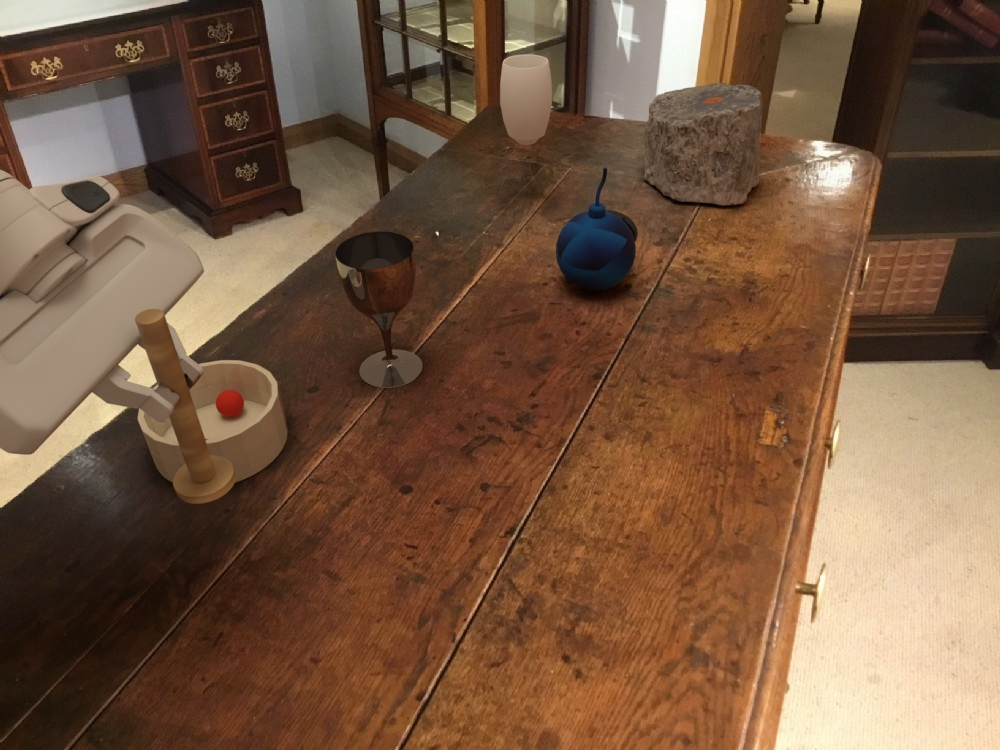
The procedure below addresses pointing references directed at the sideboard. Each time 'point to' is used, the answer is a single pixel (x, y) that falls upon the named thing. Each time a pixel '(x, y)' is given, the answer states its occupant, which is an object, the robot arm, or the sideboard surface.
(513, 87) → the cup
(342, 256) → the wine glass
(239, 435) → the bowl
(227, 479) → the stick
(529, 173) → the sideboard surface
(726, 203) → the petrified wood
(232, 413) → the tomato
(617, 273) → the bomb
